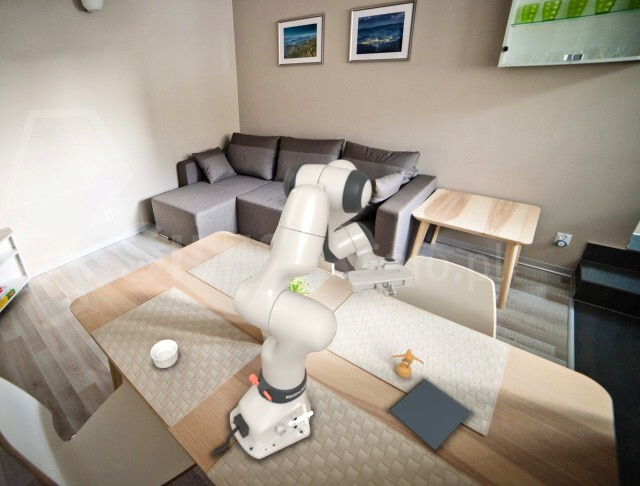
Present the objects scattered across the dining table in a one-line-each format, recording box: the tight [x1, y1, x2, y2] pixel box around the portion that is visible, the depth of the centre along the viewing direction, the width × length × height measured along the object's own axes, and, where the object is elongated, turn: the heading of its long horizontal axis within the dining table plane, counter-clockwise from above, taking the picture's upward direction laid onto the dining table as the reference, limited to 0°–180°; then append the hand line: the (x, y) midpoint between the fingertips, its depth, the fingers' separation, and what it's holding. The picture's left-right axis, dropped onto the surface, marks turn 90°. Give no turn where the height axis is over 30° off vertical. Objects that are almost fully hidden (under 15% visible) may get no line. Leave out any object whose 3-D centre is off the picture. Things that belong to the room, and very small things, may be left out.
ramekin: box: [149, 339, 179, 369], centre depth 108 cm, size 9×9×4 cm
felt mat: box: [389, 379, 471, 451], centre depth 86 cm, size 16×12×1 cm
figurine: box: [390, 348, 425, 379], centre depth 93 cm, size 8×6×12 cm
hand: (391, 294), depth 98 cm, fingers closed
